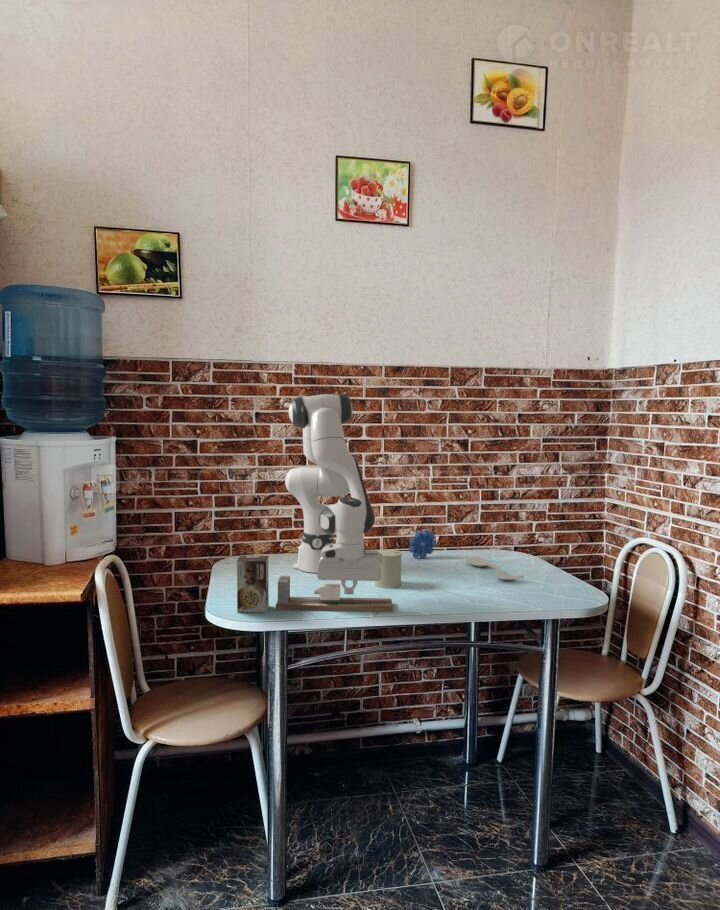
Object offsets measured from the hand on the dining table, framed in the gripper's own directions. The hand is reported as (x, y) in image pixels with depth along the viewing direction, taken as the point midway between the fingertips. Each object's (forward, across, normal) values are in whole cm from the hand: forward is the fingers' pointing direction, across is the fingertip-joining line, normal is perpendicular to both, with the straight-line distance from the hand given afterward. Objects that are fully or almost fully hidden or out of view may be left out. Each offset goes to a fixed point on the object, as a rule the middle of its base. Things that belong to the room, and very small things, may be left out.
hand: (348, 593), depth 192 cm
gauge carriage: (+2, +7, +1) cm, 7 cm away
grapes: (+4, -29, -62) cm, 69 cm away
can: (+4, -14, -24) cm, 28 cm away
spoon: (+5, -54, -43) cm, 69 cm away
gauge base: (+4, +4, 0) cm, 6 cm away
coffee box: (+4, +29, +4) cm, 30 cm away
